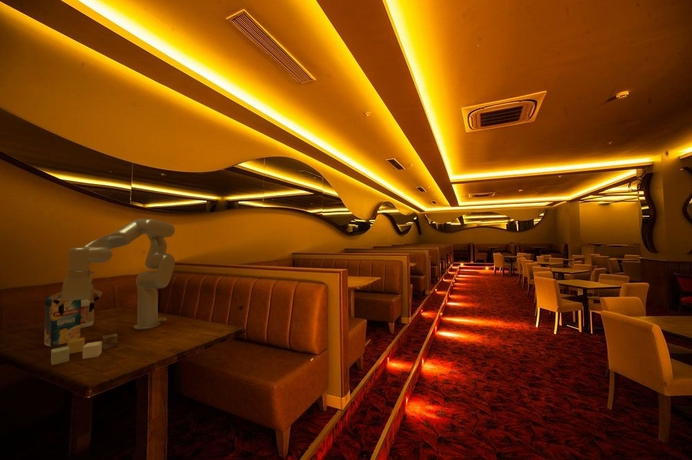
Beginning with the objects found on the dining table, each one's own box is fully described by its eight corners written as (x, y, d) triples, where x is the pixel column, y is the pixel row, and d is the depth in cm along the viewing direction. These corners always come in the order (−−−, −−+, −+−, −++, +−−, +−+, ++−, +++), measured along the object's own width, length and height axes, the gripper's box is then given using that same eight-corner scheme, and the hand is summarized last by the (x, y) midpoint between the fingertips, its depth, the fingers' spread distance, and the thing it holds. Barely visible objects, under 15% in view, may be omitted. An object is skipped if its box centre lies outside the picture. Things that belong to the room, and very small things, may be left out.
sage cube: (67, 357, 120) (68, 346, 120) (69, 361, 117) (69, 348, 117) (50, 361, 116) (51, 349, 116) (51, 365, 113) (52, 352, 113)
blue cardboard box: (80, 339, 142) (81, 295, 143) (50, 346, 132) (51, 299, 133) (73, 337, 145) (74, 294, 146) (43, 344, 135) (45, 298, 136)
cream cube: (101, 352, 125) (101, 341, 126) (97, 356, 121) (98, 345, 121) (87, 354, 123) (87, 343, 123) (82, 359, 119) (82, 347, 119)
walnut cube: (116, 343, 136) (116, 333, 136) (117, 346, 132) (117, 335, 132) (102, 346, 132) (102, 335, 133) (103, 349, 129) (103, 338, 129)
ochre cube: (84, 348, 131) (84, 337, 131) (82, 351, 127) (82, 340, 127) (69, 350, 128) (70, 339, 128) (66, 354, 124) (67, 342, 124)
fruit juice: (95, 325, 164) (96, 277, 165) (72, 329, 157) (74, 279, 157) (91, 322, 170) (92, 276, 171) (70, 326, 163) (71, 277, 163)
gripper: (104, 272, 136) (102, 308, 136) (54, 275, 127) (52, 313, 126) (102, 274, 130) (100, 311, 129) (49, 276, 121) (46, 317, 120)
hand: (76, 312), depth 128 cm, fingers open, 9 cm apart
